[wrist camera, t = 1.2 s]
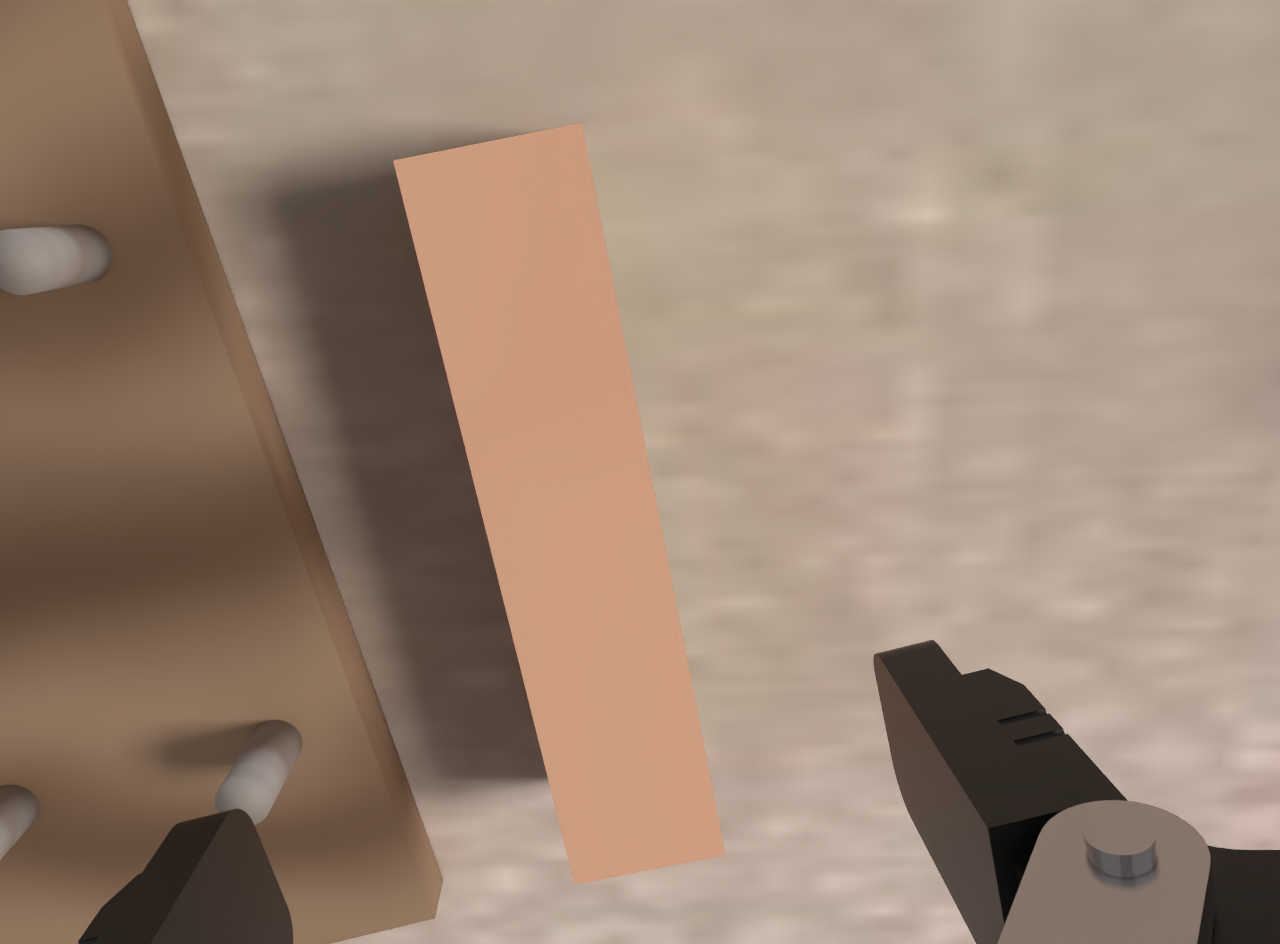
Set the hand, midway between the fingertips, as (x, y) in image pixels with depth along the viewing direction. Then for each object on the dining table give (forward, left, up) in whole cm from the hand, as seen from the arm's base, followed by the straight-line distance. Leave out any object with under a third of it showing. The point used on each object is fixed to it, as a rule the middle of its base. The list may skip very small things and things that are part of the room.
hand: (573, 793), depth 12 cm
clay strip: (0, 0, -13) cm, 13 cm away
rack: (-2, -12, -13) cm, 17 cm away
